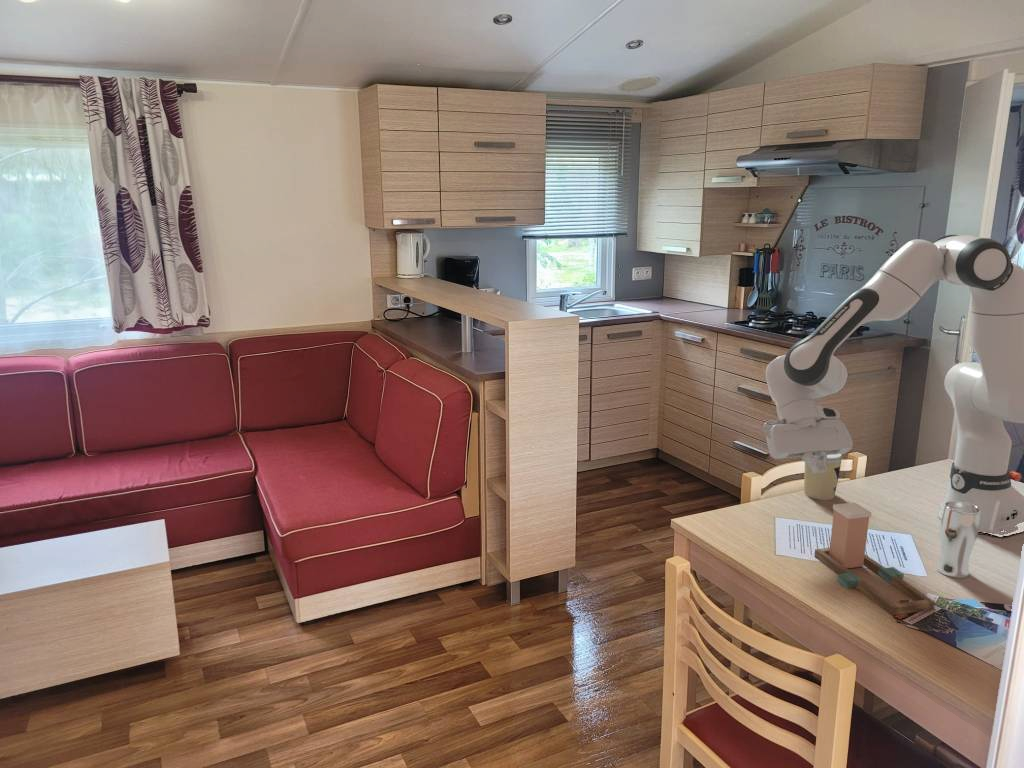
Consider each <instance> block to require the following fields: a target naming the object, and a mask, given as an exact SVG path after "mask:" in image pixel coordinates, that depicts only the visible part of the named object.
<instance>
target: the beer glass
mask: <svg viewBox="0 0 1024 768" xmlns="http://www.w3.org/2000/svg"><path fill="white" fill-rule="evenodd" d="M980 511H981V510H980V508H979V507H977V506H975V505H973V504H970V503H966V502H961V501H948V502H946V503H945V506H944V510H943V514H942V518H941V519H940V526H939V527H940V529H939V533H940V534H939V536H940V539H939V540H940V554H939V559H938V561H937V562H936V566H935V567H936V570H937V571H938V572H939V574H942V575H944V576H947V577H951V578H954V579H964V578H967V577H968V576H969V575H970V570H969V561H970V557H971V553H972V551H973V549H974V546H975V543H976V541H977V538H978V534H979V533H978V531H979V524H980Z"/></svg>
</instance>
